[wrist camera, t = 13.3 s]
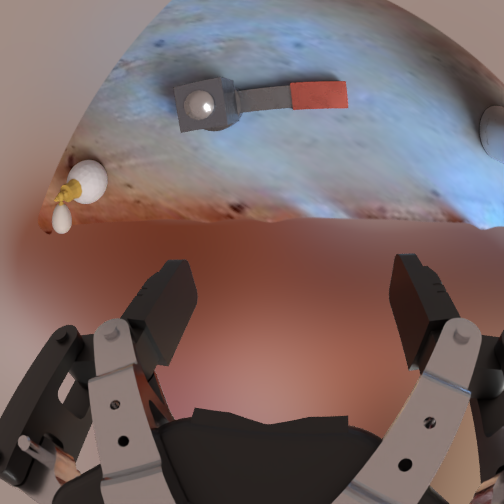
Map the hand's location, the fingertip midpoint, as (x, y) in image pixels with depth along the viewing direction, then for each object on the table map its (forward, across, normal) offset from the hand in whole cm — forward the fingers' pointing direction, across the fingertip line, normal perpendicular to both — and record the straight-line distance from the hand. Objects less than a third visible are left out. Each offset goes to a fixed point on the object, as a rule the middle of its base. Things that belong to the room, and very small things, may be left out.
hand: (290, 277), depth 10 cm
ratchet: (+30, +3, -7) cm, 31 cm away
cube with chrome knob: (+28, +10, -7) cm, 30 cm away
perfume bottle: (+30, +34, +1) cm, 46 cm away
